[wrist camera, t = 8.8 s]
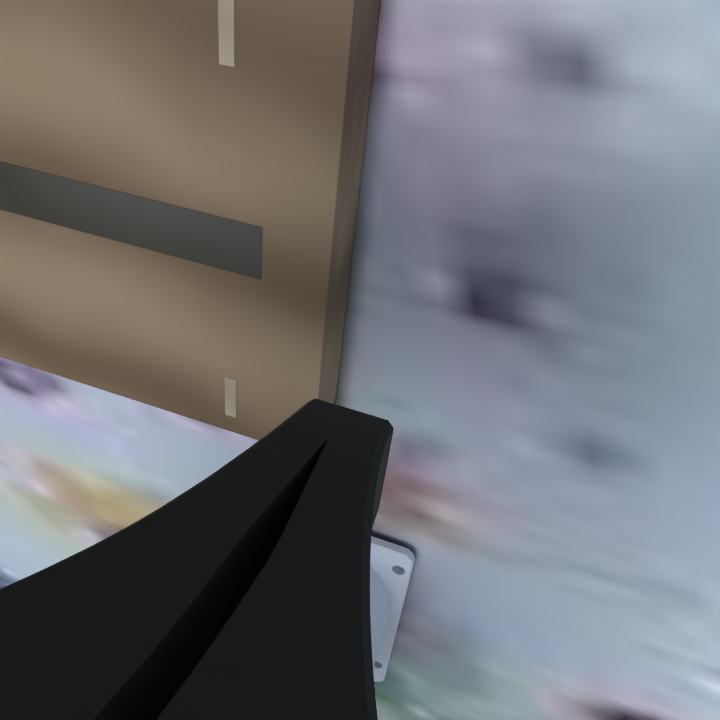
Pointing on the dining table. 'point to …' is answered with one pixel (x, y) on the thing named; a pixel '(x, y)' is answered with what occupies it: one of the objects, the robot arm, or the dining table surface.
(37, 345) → the console board
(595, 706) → the dining table surface
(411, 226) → the dining table surface
